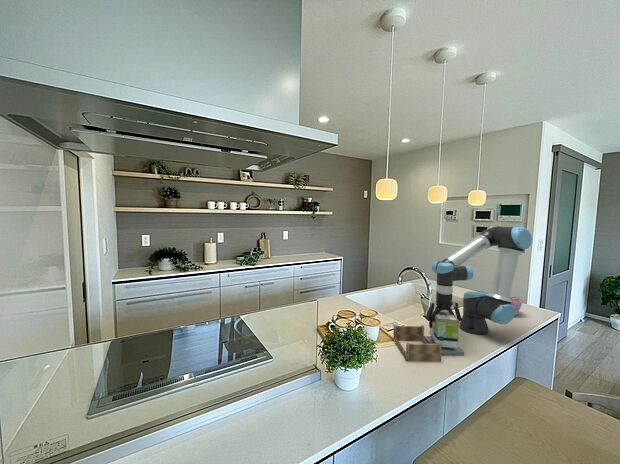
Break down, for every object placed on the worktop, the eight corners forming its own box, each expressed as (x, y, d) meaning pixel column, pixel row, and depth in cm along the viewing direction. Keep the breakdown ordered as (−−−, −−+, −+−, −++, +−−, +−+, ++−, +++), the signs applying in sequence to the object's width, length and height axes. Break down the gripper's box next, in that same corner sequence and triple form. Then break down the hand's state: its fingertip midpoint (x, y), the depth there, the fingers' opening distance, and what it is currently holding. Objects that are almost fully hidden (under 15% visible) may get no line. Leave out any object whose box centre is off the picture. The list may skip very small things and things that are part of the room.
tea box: (458, 348, 129) (459, 319, 128) (436, 346, 131) (437, 318, 130) (448, 335, 144) (449, 309, 143) (429, 333, 146) (429, 307, 145)
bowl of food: (480, 310, 191) (481, 294, 191) (500, 307, 197) (501, 292, 197) (508, 320, 172) (509, 303, 172) (529, 317, 178) (530, 300, 178)
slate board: (446, 339, 146) (446, 336, 146) (464, 355, 129) (464, 351, 129) (423, 339, 146) (423, 335, 146) (437, 355, 129) (437, 351, 129)
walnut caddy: (422, 339, 145) (423, 325, 145) (441, 361, 124) (442, 344, 123) (393, 339, 146) (393, 325, 145) (406, 361, 124) (407, 344, 124)
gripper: (462, 290, 139) (461, 330, 140) (419, 290, 140) (418, 330, 141) (470, 294, 132) (469, 336, 133) (425, 294, 132) (424, 336, 133)
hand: (443, 333), depth 137 cm, fingers closed on tea box, 11 cm apart
